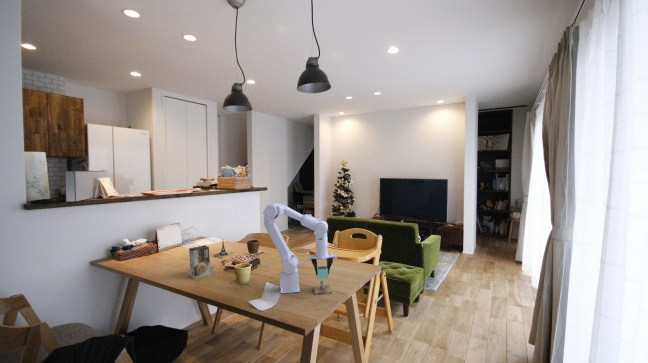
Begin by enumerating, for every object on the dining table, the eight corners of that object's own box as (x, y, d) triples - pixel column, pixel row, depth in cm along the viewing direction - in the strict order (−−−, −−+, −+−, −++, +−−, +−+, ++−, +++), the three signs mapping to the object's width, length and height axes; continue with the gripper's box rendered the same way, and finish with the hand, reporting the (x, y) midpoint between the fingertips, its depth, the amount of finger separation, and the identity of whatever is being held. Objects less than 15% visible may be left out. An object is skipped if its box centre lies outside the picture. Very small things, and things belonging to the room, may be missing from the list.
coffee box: (206, 272, 169) (205, 244, 168) (210, 274, 164) (209, 246, 164) (189, 276, 163) (188, 248, 162) (194, 279, 158) (193, 250, 157)
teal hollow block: (317, 279, 137) (317, 269, 137) (316, 275, 142) (316, 266, 142) (328, 278, 138) (327, 269, 138) (326, 274, 143) (326, 265, 143)
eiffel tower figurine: (223, 251, 212) (223, 233, 211) (235, 252, 209) (235, 234, 208) (209, 257, 198) (209, 238, 197) (222, 259, 194) (221, 239, 194)
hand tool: (255, 263, 184) (255, 256, 183) (260, 264, 182) (260, 257, 182) (233, 273, 167) (233, 265, 166) (239, 274, 165) (238, 266, 165)
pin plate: (315, 294, 136) (315, 285, 136) (313, 287, 144) (313, 279, 144) (331, 293, 137) (331, 284, 137) (329, 286, 145) (329, 277, 145)
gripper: (307, 249, 135) (308, 277, 135) (337, 247, 136) (338, 275, 137) (306, 245, 142) (306, 272, 142) (335, 243, 143) (335, 270, 144)
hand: (322, 273), depth 140 cm, fingers closed on teal hollow block, 5 cm apart
